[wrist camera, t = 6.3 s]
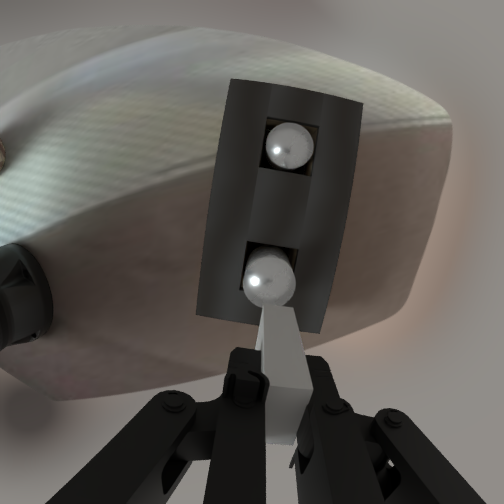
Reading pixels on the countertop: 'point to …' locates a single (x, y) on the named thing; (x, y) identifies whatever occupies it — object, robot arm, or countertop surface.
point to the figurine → (2, 155)
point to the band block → (278, 199)
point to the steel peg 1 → (288, 147)
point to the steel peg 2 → (268, 277)
